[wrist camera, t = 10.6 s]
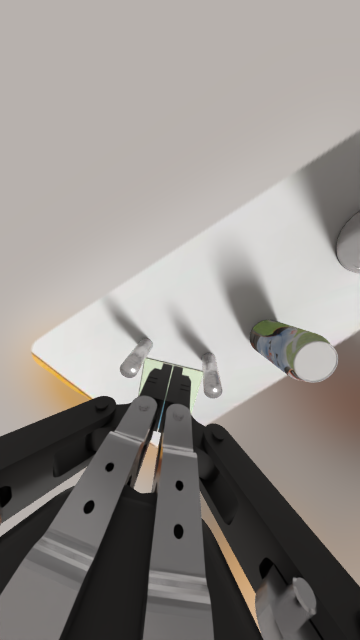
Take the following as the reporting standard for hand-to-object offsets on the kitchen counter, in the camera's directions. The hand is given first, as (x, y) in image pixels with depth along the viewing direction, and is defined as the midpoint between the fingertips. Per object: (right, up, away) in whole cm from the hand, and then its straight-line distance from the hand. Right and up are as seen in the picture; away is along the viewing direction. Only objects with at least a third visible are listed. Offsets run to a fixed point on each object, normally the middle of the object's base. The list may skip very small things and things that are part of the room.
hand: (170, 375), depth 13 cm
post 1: (-6, -1, +21) cm, 22 cm away
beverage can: (+16, +2, +18) cm, 24 cm away
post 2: (+6, -4, +20) cm, 22 cm away
